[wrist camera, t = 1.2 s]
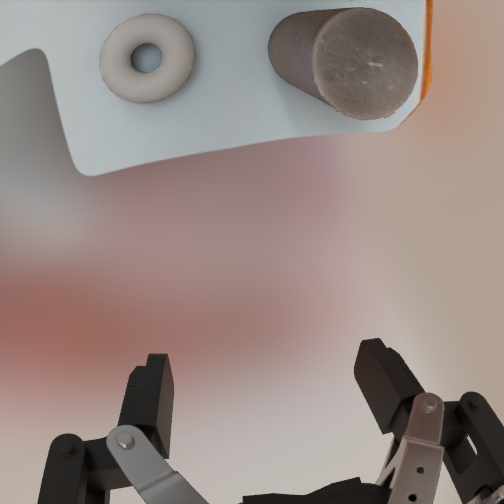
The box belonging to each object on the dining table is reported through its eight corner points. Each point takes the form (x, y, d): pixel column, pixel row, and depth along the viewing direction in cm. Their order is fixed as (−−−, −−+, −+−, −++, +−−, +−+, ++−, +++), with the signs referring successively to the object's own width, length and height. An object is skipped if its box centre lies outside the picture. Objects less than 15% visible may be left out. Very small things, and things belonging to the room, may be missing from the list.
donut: (193, 10, 25) (100, 24, 23) (194, 6, 22) (92, 23, 21) (195, 94, 31) (108, 106, 30) (197, 99, 29) (101, 113, 27)
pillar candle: (318, -2, 25) (394, -13, 14) (360, 63, 31) (443, 91, 20) (249, 41, 28) (290, 44, 17) (299, 104, 34) (359, 149, 22)
